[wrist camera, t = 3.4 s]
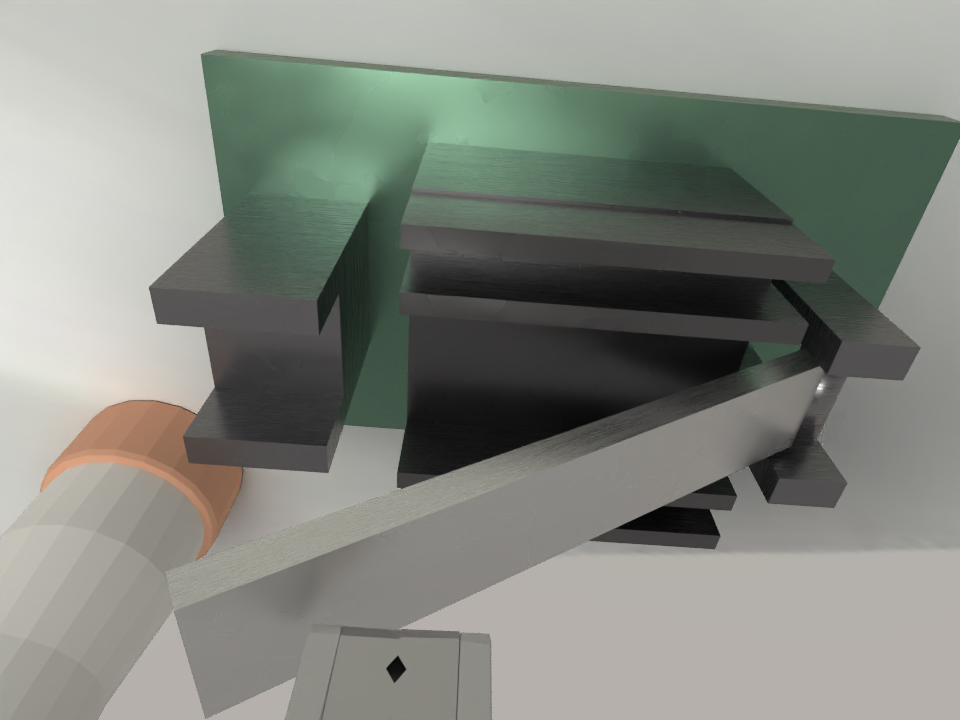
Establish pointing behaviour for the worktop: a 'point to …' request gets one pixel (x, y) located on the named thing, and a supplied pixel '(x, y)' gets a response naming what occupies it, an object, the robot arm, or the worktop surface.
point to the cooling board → (406, 104)
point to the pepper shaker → (102, 559)
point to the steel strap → (478, 524)
